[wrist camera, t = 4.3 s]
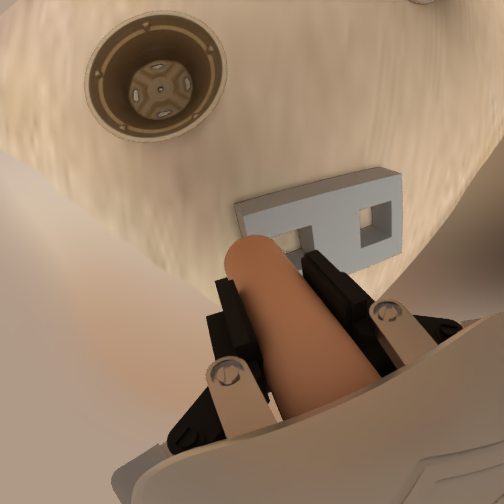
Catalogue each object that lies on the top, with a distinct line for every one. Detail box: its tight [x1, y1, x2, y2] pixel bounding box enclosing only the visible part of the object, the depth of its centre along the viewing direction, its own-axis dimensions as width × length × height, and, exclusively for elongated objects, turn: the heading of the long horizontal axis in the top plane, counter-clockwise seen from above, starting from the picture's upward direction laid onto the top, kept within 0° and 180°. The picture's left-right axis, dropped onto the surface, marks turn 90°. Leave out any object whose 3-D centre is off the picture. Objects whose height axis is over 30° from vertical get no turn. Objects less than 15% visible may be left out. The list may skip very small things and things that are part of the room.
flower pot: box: [84, 10, 227, 143], centre depth 19 cm, size 9×9×9 cm
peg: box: [224, 235, 381, 421], centre depth 10 cm, size 3×3×11 cm
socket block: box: [234, 167, 403, 276], centre depth 31 cm, size 18×10×4 cm, turn 103°
